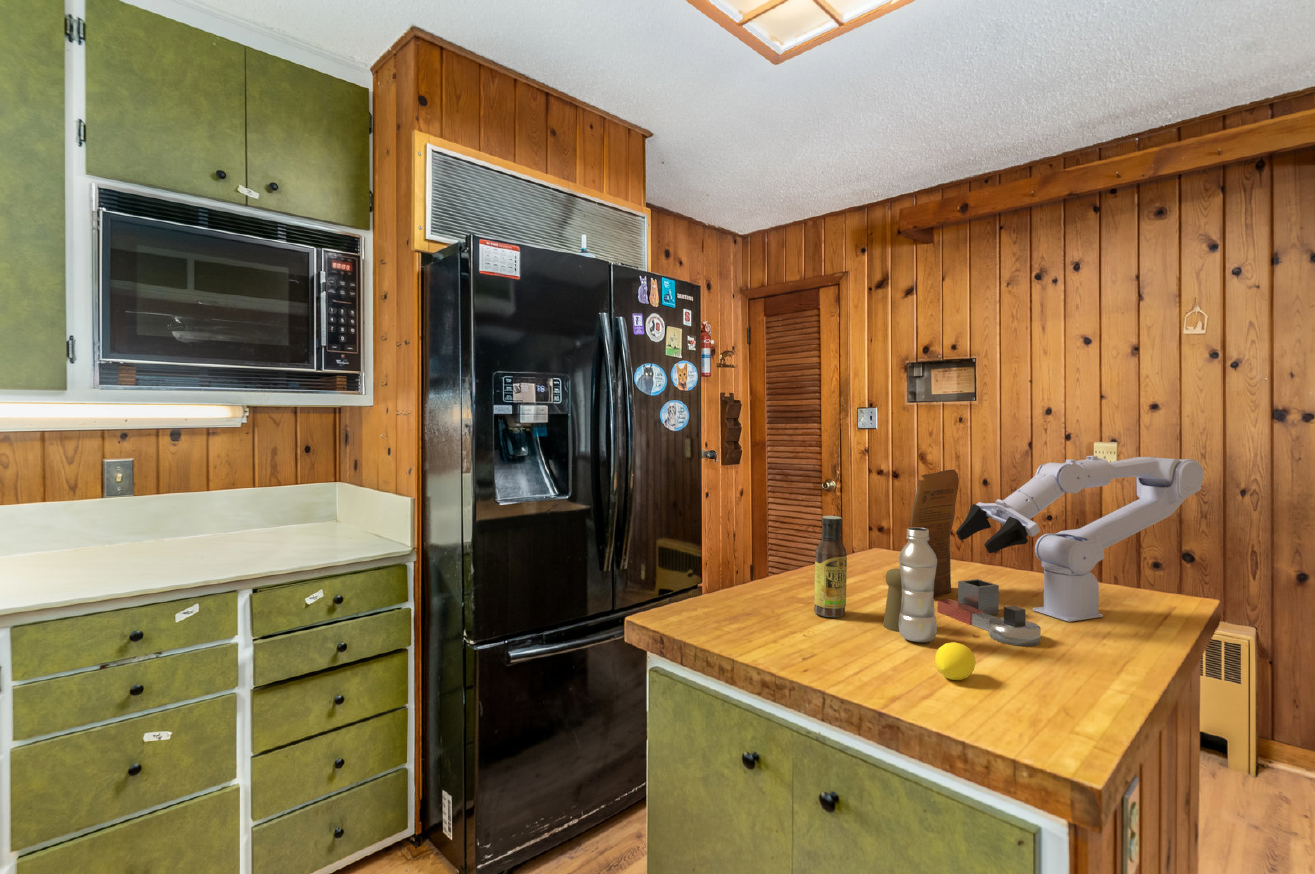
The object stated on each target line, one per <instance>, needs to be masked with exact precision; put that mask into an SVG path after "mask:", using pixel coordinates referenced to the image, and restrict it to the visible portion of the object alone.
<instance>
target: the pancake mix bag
mask: <svg viewBox="0 0 1315 874" xmlns="http://www.w3.org/2000/svg"><path fill="white" fill-rule="evenodd" d="M959 480H960V479H959V474H958V472H957V471H956V470H955V469H947V470H939V471H938V472H935V473H934V472H933V473H926V474H922V475H920V479H919V480H918V484H917V485H918V486H917V490H916V492H915V499H914V501H913V505H912V506H913V507H912V510H911V516H910V522H909V528H911V527H918V528H926V529H928V531H929V540H928V541H927V542H928V544H929V546H930V547H931V548H932V550H933V551H934V553H935V555H936V558H937V566H936V573H935V579H934V590H933V591H934V594H933V598H934V597H937V596H940V595H945V594H948V593H952V579H951V577H952V576H951V575H952V573H951V570H952V569H951V534H952V528H953V526H954V521H955V515H956V504H957V503H956V502H957V497H958V492H959Z"/></svg>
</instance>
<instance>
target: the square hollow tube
mask: <svg viewBox="0 0 1315 874" xmlns="http://www.w3.org/2000/svg"><path fill="white" fill-rule="evenodd" d="M999 587H1000V586H999V584H996V583H992V582H989V581H987V580H982V579H979V578H975V579H967V580H958V582H957V602H959V603H962V604H965V605H968V606H971V607H974V608H976V609H979V610H982V611H983V612H984V613H986V614H989V615H993V616H999V608H1000V607H999V604H1000V603H999V597H1000V596H999V595H1000V594H999V593H1000V592H999V590H1000V588H999Z"/></svg>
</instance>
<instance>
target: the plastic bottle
mask: <svg viewBox="0 0 1315 874" xmlns="http://www.w3.org/2000/svg"><path fill="white" fill-rule="evenodd" d="M905 537H906V538H905V539H906V540H907V543H905V544H904V546H903V547H902V549H901V551H899V555H898V563H899V565H898V566H899V569H900V572H901V582H902V601H901V612H900V615H899V622H898V626H899V632H898V633H900V635H901V637H902V638H903V639H906V640H907V641H911V642H914V643H929V642H932V641H933V640H934V639H935V638H936V636H937V631H938V624H937V618H936V613H935V612H936V611H935V600H934V597H933V594H934V591H933V590H934V579H935V573H936V566H937V558H936V555H935V553H934V551H933V550H932V548H931V547H930V546H929V544H928V542H927V541H928V540H929V531H928V529H926V528H918V527H911V528H910V527H907V528H906V536H905Z"/></svg>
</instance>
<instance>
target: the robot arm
mask: <svg viewBox="0 0 1315 874" xmlns="http://www.w3.org/2000/svg"><path fill="white" fill-rule="evenodd" d="M1085 458H1086V459H1078V460H1076V459H1073V458H1072V459H1071V458H1069V459H1068V458H1067V459H1065V462H1063V463H1062V462H1046V463H1045V464H1042V463H1041V464H1040V465H1039V466H1038V468H1037V469H1036V472H1035V474H1034V476H1033V477H1032V478H1031V479H1029V481H1027V482H1026V483H1025V484H1023V485H1022V486H1020V487H1019V488H1018V489H1016V490H1015V491H1013V492H1012V493H1011V494H1010V495H1008V496H1007V497H1006V498H1004V499H1003V500H1002V499H996V500H995V503H994V502H988V503H987V502H986V503H983V502H980V501H979V502H978V503H976V504H975V503H973V504H971V505H970V508H969V511H968V514H967V515H966V517H965V519H964V521H963V522H962V524H961V525H960V526H959V527H958V528H957V530H956V531H955V533H956V536H957V537H958V539H959V540H961V541H964V540H966V539H968V538H970V537H971V536H973V535H975V534H976V533H978V532H980V531H983V530H984V531H985V530H987V529H991V528H992V526H991V523H990V521H989V518H990V519H992V520H993V521H996V522H997V523H999V524H1001V525H1002V526H1001V527H1000V529H999V530H997V532H996V533H994V534H993V535H992V536H991V537H989V539H988V540H986V542H984V544H983V545H984V548H985V549H986V551H987V553H988V554H993V553H996V552H999V551H1000V550H1003V549H1005V548H1009V547H1013V546H1018V545H1019V546H1021V545H1026V544H1028V542H1029V539H1028V536H1030V537H1031V538H1032V537H1034V536H1036V535H1038V533H1040V532H1041V530H1040V529H1041V528H1039V525H1038V523H1037V522H1035V521H1034V520H1031V519H1033V518H1034V517H1035V516H1037V515H1038V514H1039V513H1041V512H1042V511H1043V510H1045V509H1046V508H1047V507H1049V506H1050V505H1051V504H1053V503H1054V502H1055V501H1056V500H1058V499H1059V498H1061V497H1062V496H1064V494H1065V493H1066V494H1078V493H1079V492H1081V491H1082V490H1083V489H1091V488H1097V487H1105V486H1108V485H1109V484H1111V482H1112V480H1113V479H1119V478H1121V479H1122V478H1130V477H1133V478H1136V496H1137V497H1138V499H1137V500H1134V501H1132V502H1130V503H1128V504H1126V505H1124V506H1122V507H1120V508H1118V509H1117V510H1114V511H1112V512H1111V513H1108V514H1106V515H1104V516H1101V517H1100V518H1098V519H1095V520H1094V521H1092V522H1090V523H1088V524H1086V525H1084V526H1081V527H1080V528H1076V529H1067V530H1065V529H1064V530H1061V531H1059V532H1056V533H1045V534H1042V535H1041V536H1040V537H1038V538H1037V540H1036V543H1035V546H1034V553H1035V556H1036V558H1037V559H1038V560H1039V561H1040V562H1041V564H1040V566H1041V567H1042V568H1043V606H1038V607H1033V608H1032V611H1034V612H1037V613H1041V614H1043V615H1046V616H1049V617H1052V618H1056V619H1058V620H1062V621H1065V622H1075V621H1083V620H1088V619H1089V620H1090V619H1097V618H1098V619H1099V618H1103V617H1104V615H1103V614H1102V613H1099V608H1100V601H1099V599H1100V592H1099V591H1100V585H1099V581H1098V579H1097V577H1096V576H1095V574H1093V573H1092V572H1091V571H1092V570H1093V569H1094V568H1095V566H1096V565H1097V564H1098V563H1099V562H1101V561H1102V560H1104V559H1105V550H1106V549H1107V548H1109V547H1112V546H1114V545H1116V544H1118V543H1119V542H1121V541H1123V540H1125V539H1127V538H1130V537H1132V536H1133V535H1135V534H1137V533H1139V532H1141V531H1143V530H1145V529H1147V528H1149V527H1151V526H1153V525H1155V524H1157V523H1159V522H1161V521H1164V520H1165V519H1167V518H1169V517H1170V516H1173V513H1175V512H1176V511H1177V509H1178V508H1179V507H1180V506H1181V505H1182V504H1183V503H1184V502H1185V500H1186V499H1188V497H1190V496H1192V495H1194V494H1197V493H1198V492H1200V491H1201V489H1202V485H1203V481H1204V476H1205V473H1204V469H1203V466H1202V465H1201V462H1199V461H1198V460H1195V459H1194V458H1185V459H1182V458H1165V457H1156V456H1135V457H1130V458H1125V459H1120V460H1115V461H1110V462H1109V461H1107V460H1106V459H1104V458H1102V457H1099V456H1098V455H1086V457H1085Z"/></svg>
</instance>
